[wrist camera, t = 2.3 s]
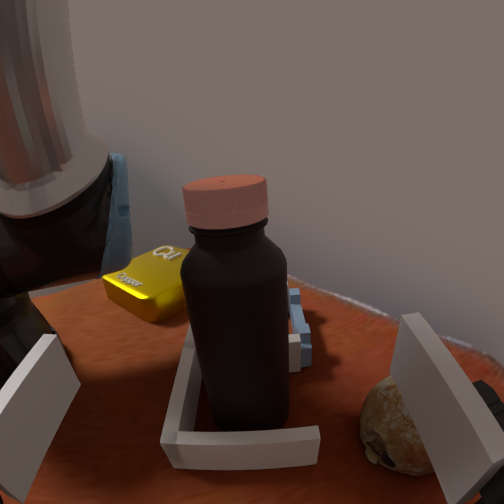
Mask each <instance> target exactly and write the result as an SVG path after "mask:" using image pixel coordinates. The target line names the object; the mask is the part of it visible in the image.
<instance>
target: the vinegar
mask: <svg viewBox="0 0 504 504" xmlns="http://www.w3.org/2000/svg"><path fill="white" fill-rule="evenodd" d="M182 189H183V196H184V203H185V211H186V219H187V223H188V224H189V231H190V232H191V233H193V234H194V236H195V244H194V246H193V247H192V248H191V250H190V251H189V252H188V254H187V255H186V256H185V258H184V259H183V261H182V265H181V269H180V276H181V282H182V287H183V292H184V297H185V302H186V306H187V311H188V316H189V321H190V325H191V330H192V334H193V339H194V343H195V347H196V352H197V356H198V360H199V364H200V368H201V372H202V376H203V380H204V384H205V388H206V392H207V396H208V400H209V403H210V407H211V411H212V414H213V418H214V420H215V422H216V424H217V426H218V427H219V428H220V429H221V430H222V431H223V432H243V431H263V430H278V429H280V428H281V427H282V426H283V424H284V423H285V421H286V420H287V418H288V413H289V327H288V289H287V262H286V258H285V256H284V254H283V252H282V250H281V249H280V248H279V247H278V246H276V245H275V244H274V243H273V242H272V241H271V240H270V239H269V238H267V237H266V236H265V233H264V226H266V225H267V222H268V218H267V216H268V199H267V184H266V179H265V178H263V177H261V176H258V175H228V176H218V177H212V178H206V179H201V180H197V181H194V182H191V183H189V184H187V185H185V186H184V187H183V188H182Z"/></svg>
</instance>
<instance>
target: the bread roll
mask: <svg viewBox="0 0 504 504" xmlns="http://www.w3.org/2000/svg"><path fill="white" fill-rule="evenodd" d="M360 437H361V440H362V442H363V445H365V446H366V450H365V455H366V457H367V458H368V460H369V461H370V462H372V463H374V464H378V463H379V464H382V465H383V466H385V467H387V468H389V469H392V470H394V471H399V472H401V473H404V474H409V475H412V476H421V475H426V474H430V473H433V472H435V470H434V468H433V466H432V463H431V461H430V458H429V456H428V454H427V451H426V449H425V447H424V445H423V442H422V440H421V438H420V435H419V433H418V431H417V429H416V427H415V424H414V422H413V420H412V418H411V416H410V413H409V411H408V409H407V407H406V405H405V403H404V401H403V398H402V396H401V394H400V392H399V390H398V388H397V386H396V384H395V382H394V380H393V378H392V376H391V375H390V376H388V377H386V378H385V379H383V380H381V381H380V382H379V383H378V384H377V385H375V386H374V387H373V388H372V389H371V391H370V392H369V394H368V395H367V397H366V399H365V401H364V403H363V406H362V410H361V414H360Z"/></svg>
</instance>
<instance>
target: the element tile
mask: <svg viewBox="0 0 504 504" xmlns="http://www.w3.org/2000/svg"><path fill="white" fill-rule="evenodd" d="M188 252H189V250H186V249H181V248H178V247H174V246H169V245H164V246H161V247H159V248H157V249H154V250H152V251H150V252H147V253H145V254H143V255H141V256H138V257H136V258H134V259H132V261H131V263H130V264H129V266H128V267H127V268H126V269H124V270H122V271H118V272H114V273H111V274H107V275H103V277H102V280H103V283H104V287H105V290H106V293H107V297H108V298H109V299H110V300H112V301H113V302H115V303H116V304H118V305H119V306H121V307H122V308H124V309H126V310H127V311H129V312H130V313H132V314H134V315H135V316H137V317H138V318H140V319H142V320H143V321H145V322H149V323H157V322H160V321H163V320H165V319H167V318H169V317H170V316H172V315H174V314H175V313H177V312H178V311H180V310H182V309H183V308H185V307H187V306H186V302H185V297H184V292H183V287H182V282H181V276H180V269H181V265H182V261H183V259H184V258H185V256H186V255H187V254H188Z"/></svg>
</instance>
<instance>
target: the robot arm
mask: <svg viewBox="0 0 504 504" xmlns="http://www.w3.org/2000/svg"><path fill="white" fill-rule="evenodd" d="M129 208H130V207H129V189H128V174H127V162H126V157H125V156H124V155H122V154H115V153H112V154H110V155H109V154H108V149H107V145H106V142H105V140H104V138H103V137H102V136H101V135H100V134H98V133H96V132H94V131H92V130H89V129H87V128H85V124H84V120H83V114H82V109H81V104H80V98H79V92H78V87H77V81H76V74H75V67H74V60H73V51H72V44H71V33H70V22H69V8H68V0H0V489H1V490H2V491H3V492H4V493H5V494H6V495H7V496H9V497H10V498H12V499H14V500H16V501H18V502H20V503H23V504H24V502H25V499H26V497H27V495H28V492H29V490H30V488H31V485H32V483H33V481H34V478H35V476H36V474H37V472H38V469H39V467H40V465H41V463H42V461H43V459H44V456H45V454H46V452H47V450H48V448H49V446H50V444H51V442H52V440H53V438H54V436H55V434H56V432H57V430H58V428H59V426H60V424H61V422H62V420H63V418H64V416H65V414H66V412H67V410H68V408H69V406H70V404H71V402H72V400H73V399H74V397H75V395H76V393H77V391H78V389H79V387H80V386H81V384H80V382H79V380H78V378H77V376H76V374H75V372H74V370H73V368H72V366H71V364H70V362H69V360H68V358H67V356H66V351H65V348H64V346H63V344H62V341H61V339H60V337H59V335H58V333H57V332H56V330H55V329H54V328H53V327H52V326H50V324H49V323H48V322H47V320H46V319H45V318H44V316H43V315H42V314H41V313H40V311H39V310H38V309H37V308H36V307H35V305H34V304H33V303H32V301H31V299H30V297H29V294H28V292H29V291H34V290H39V289H44V288H49V287H54V286H59V285H64V284H69V283H74V282H79V281H84V280H90V279H95V278H96V279H100V278H102V277H103V275H107V274H111V273H114V272H118V271H122V270H124V269H126V268H127V267H128V266H129V264H130V263H131V261H132V257H133V244H132V232H131V220H130V212H129ZM389 372H390V374H391V376H392V378H393V380H394V382H395V384H396V386H397V388H398V390H399V392H400V394H401V396H402V398H403V401H404V403H405V405H406V407H407V409H408V411H409V413H410V416H411V418H412V420H413V422H414V424H415V427H416V429H417V431H418V433H419V435H420V438H421V440H422V442H423V445H424V447H425V449H426V451H427V454H428V456H429V458H430V461H431V463H432V466H433V468H434V470H435V473H436V475H437V478H438V480H439V483H440V485H441V488H442V490H443V493H444V495H445V498H446V501H447V503H448V504H463V503H465V502H467V501H469V500H471V499H472V498H473V497H474V496H475V495H476V494H477V493H478V492H480V494H481V496H482V497H481V498H480V499H479V500H478V501H477V502H476V503H475V504H504V404H503V402H501V401H500V400H501V399H500V398H499V396H498V395H497V394H496V392H495V391H494V389H493V388H492V387H490V386H489V385H487V384H486V383H485V382H483V381H482V380H479V381H477V382H474V383H471V381H470V380H469V378H468V377H467V376H466V374H465V373H464V371H463V370H462V369H461V367H460V366H459V364H458V363H457V362H456V360H455V359H454V357H453V356H452V355H451V353H450V352H449V351H448V349H447V348H446V347H445V345H444V344H443V343H442V341H441V340H440V339H439V337H438V336H437V335H436V333H435V332H434V331H433V330H432V328H431V327H430V326H429V324H428V323H427V322H426V321H425V319H424V318H423V317H422V316H421V314H420V313H419V312H418V313H413V314H406V315H401V319H400V324H399V329H398V335H397V340H396V344H395V349H394V354H393V358H392V363H391V367H390V371H389ZM0 504H3V500H2V497H1V495H0Z"/></svg>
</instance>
